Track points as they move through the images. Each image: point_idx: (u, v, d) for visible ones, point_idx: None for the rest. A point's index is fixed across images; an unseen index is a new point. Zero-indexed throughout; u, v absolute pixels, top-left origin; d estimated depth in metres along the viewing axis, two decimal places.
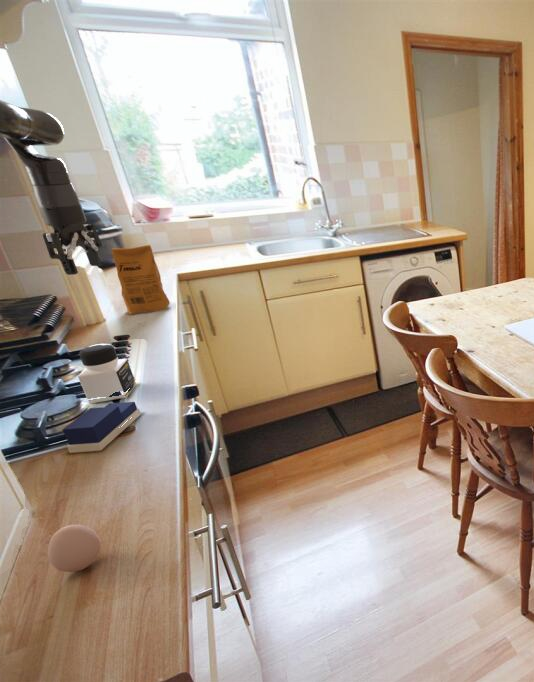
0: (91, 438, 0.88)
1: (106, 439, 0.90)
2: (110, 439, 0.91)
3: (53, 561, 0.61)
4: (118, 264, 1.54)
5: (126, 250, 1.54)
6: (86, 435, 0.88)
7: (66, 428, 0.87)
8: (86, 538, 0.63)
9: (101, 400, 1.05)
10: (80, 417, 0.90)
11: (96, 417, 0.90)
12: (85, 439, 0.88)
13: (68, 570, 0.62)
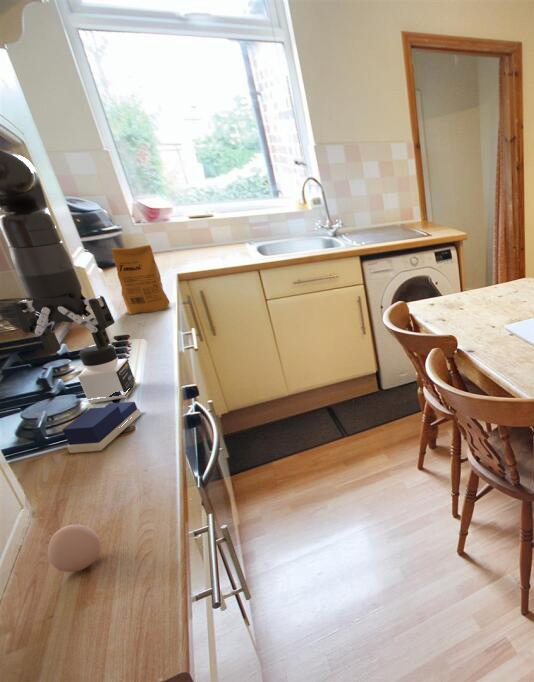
0: (91, 438, 0.88)
1: (106, 439, 0.90)
2: (110, 439, 0.91)
3: (53, 561, 0.61)
4: (118, 264, 1.54)
5: (126, 250, 1.54)
6: (86, 435, 0.88)
7: (66, 428, 0.87)
8: (86, 538, 0.63)
9: (101, 400, 1.05)
10: (80, 417, 0.90)
11: (96, 417, 0.90)
12: (85, 439, 0.88)
13: (68, 570, 0.62)
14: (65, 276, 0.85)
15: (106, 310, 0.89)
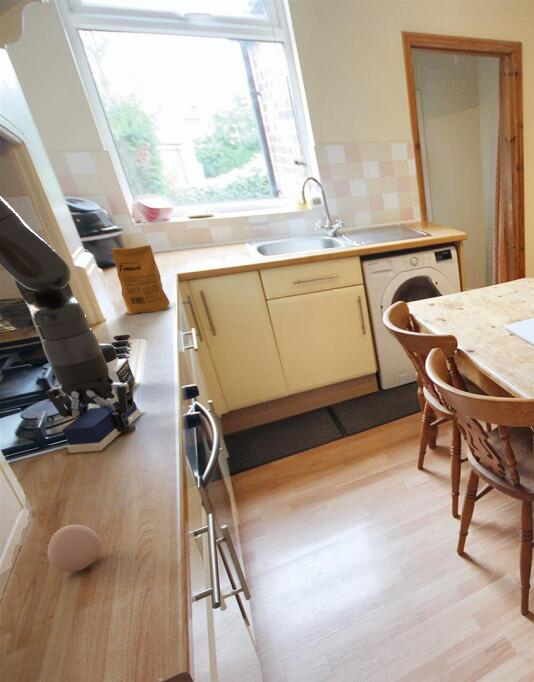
0: (91, 438, 0.88)
1: (106, 439, 0.90)
2: (110, 439, 0.91)
3: (53, 561, 0.61)
4: (118, 264, 1.54)
5: (126, 250, 1.54)
6: (86, 435, 0.88)
7: (66, 428, 0.87)
8: (86, 538, 0.63)
9: None
10: (80, 417, 0.90)
11: (96, 417, 0.90)
12: (85, 439, 0.88)
13: (68, 570, 0.62)
14: (93, 362, 0.87)
15: (130, 395, 0.92)
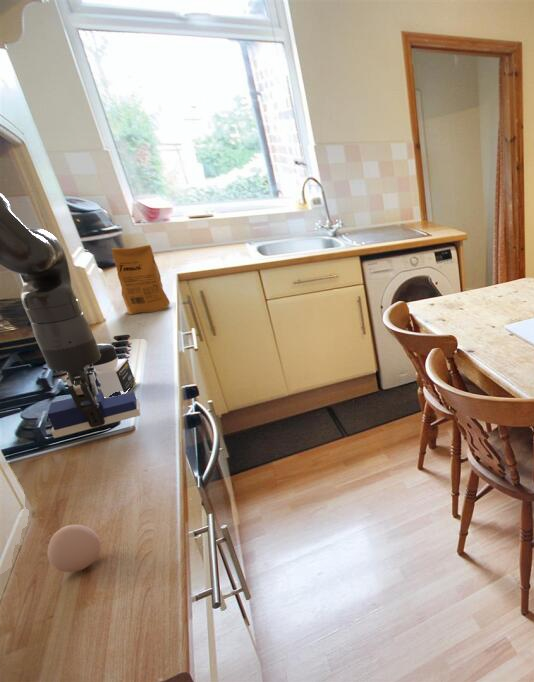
0: None
1: (67, 429, 0.87)
2: (74, 430, 0.88)
3: (53, 561, 0.61)
4: (118, 264, 1.54)
5: (126, 250, 1.54)
6: None
7: (52, 403, 0.89)
8: (86, 538, 0.63)
9: None
10: None
11: (72, 405, 0.88)
12: None
13: (68, 570, 0.62)
14: (59, 354, 0.83)
15: (85, 398, 0.85)
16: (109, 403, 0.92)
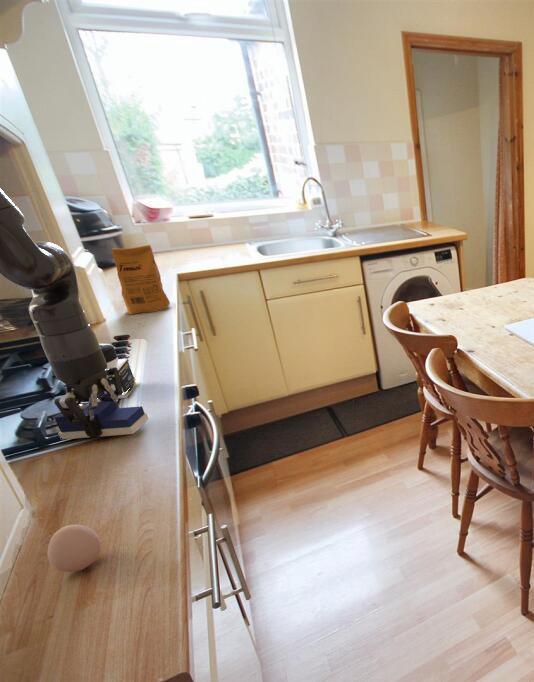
0: None
1: (71, 434, 0.90)
2: (76, 436, 0.91)
3: (53, 561, 0.61)
4: (118, 264, 1.54)
5: (126, 250, 1.54)
6: None
7: None
8: (86, 538, 0.63)
9: None
10: None
11: None
12: None
13: (68, 570, 0.62)
14: (56, 365, 0.84)
15: (71, 412, 0.85)
16: (111, 415, 0.92)
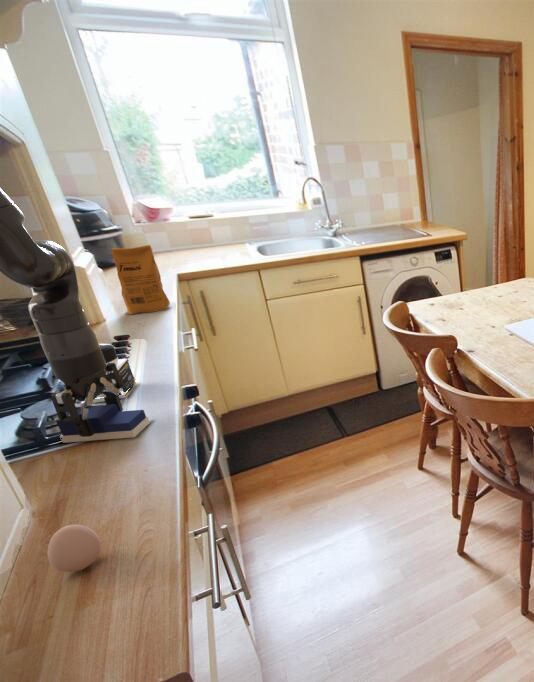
0: None
1: (72, 437, 0.91)
2: (78, 439, 0.91)
3: (53, 561, 0.61)
4: (118, 264, 1.54)
5: (126, 250, 1.54)
6: None
7: None
8: (86, 538, 0.63)
9: (101, 400, 1.05)
10: (95, 406, 0.94)
11: None
12: None
13: (68, 570, 0.62)
14: (55, 364, 0.84)
15: (65, 408, 0.84)
16: (113, 419, 0.93)
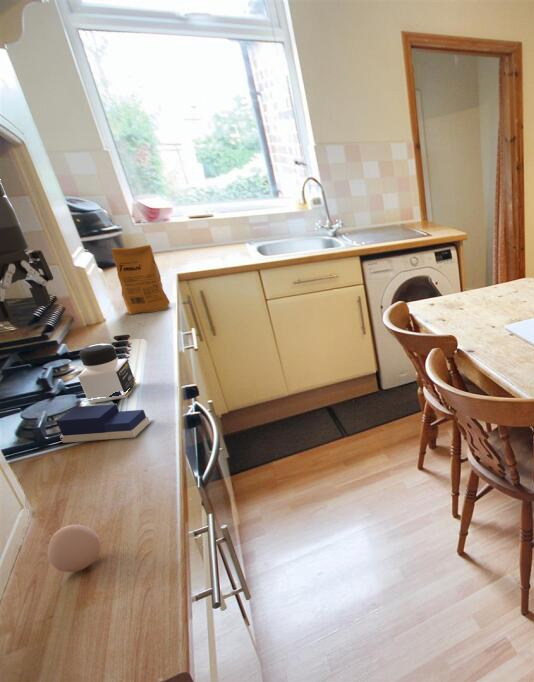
0: None
1: (72, 437, 0.91)
2: (78, 439, 0.91)
3: (53, 561, 0.61)
4: (118, 264, 1.54)
5: (126, 250, 1.54)
6: None
7: (74, 408, 0.93)
8: (86, 538, 0.63)
9: (101, 400, 1.05)
10: (95, 406, 0.94)
11: (80, 415, 0.91)
12: None
13: (68, 570, 0.62)
14: None
15: None
16: (113, 419, 0.93)
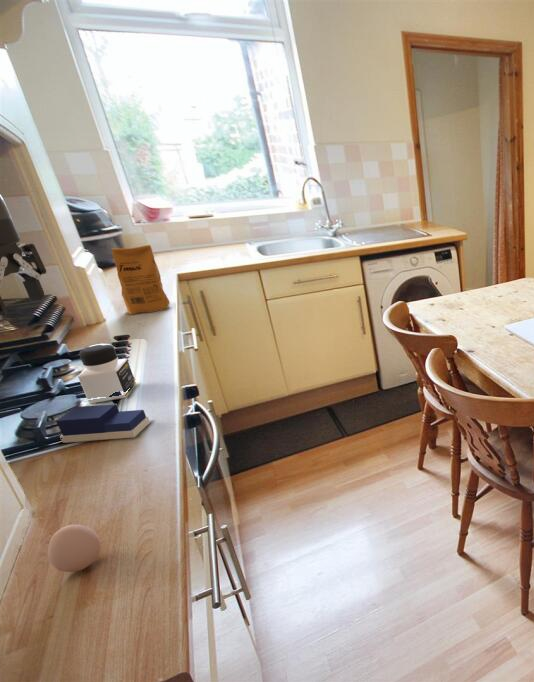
0: None
1: (72, 437, 0.91)
2: (78, 439, 0.91)
3: (53, 561, 0.61)
4: (118, 264, 1.54)
5: (126, 250, 1.54)
6: None
7: (74, 408, 0.93)
8: (86, 538, 0.63)
9: (101, 400, 1.05)
10: (95, 406, 0.94)
11: (80, 415, 0.91)
12: None
13: (68, 570, 0.62)
14: None
15: None
16: (113, 419, 0.93)
